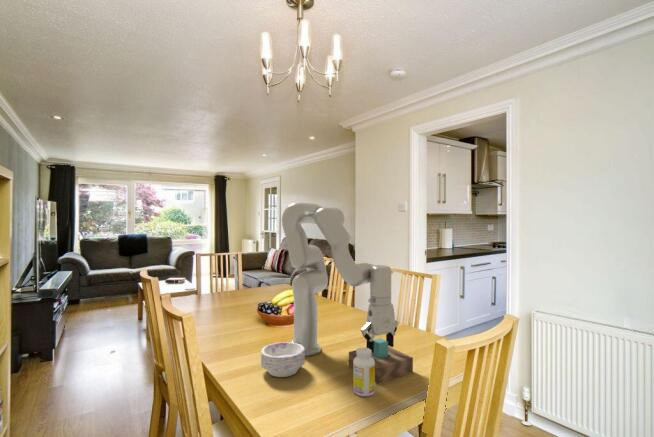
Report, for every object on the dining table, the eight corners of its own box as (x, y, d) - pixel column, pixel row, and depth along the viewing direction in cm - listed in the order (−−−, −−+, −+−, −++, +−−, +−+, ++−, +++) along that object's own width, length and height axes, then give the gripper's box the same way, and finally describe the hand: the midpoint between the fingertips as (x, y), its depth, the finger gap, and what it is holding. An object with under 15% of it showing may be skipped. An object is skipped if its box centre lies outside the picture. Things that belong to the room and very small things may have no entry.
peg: (378, 372, 115) (379, 343, 115) (372, 367, 119) (372, 339, 119) (387, 369, 117) (388, 341, 117) (380, 365, 121) (381, 338, 121)
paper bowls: (283, 358, 126) (283, 337, 126) (313, 370, 117) (313, 347, 117) (251, 372, 115) (251, 349, 115) (281, 386, 105) (281, 361, 105)
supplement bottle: (372, 386, 106) (373, 346, 106) (376, 397, 99) (376, 354, 99) (351, 386, 105) (352, 346, 105) (354, 397, 99) (354, 354, 99)
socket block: (378, 384, 107) (378, 368, 107) (348, 365, 120) (348, 352, 120) (412, 372, 116) (412, 357, 116) (381, 356, 129) (381, 343, 129)
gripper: (368, 306, 110) (368, 357, 110) (405, 299, 120) (405, 347, 120) (354, 301, 116) (354, 350, 116) (390, 295, 126) (390, 340, 126)
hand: (380, 348), depth 118 cm, fingers open, 9 cm apart
